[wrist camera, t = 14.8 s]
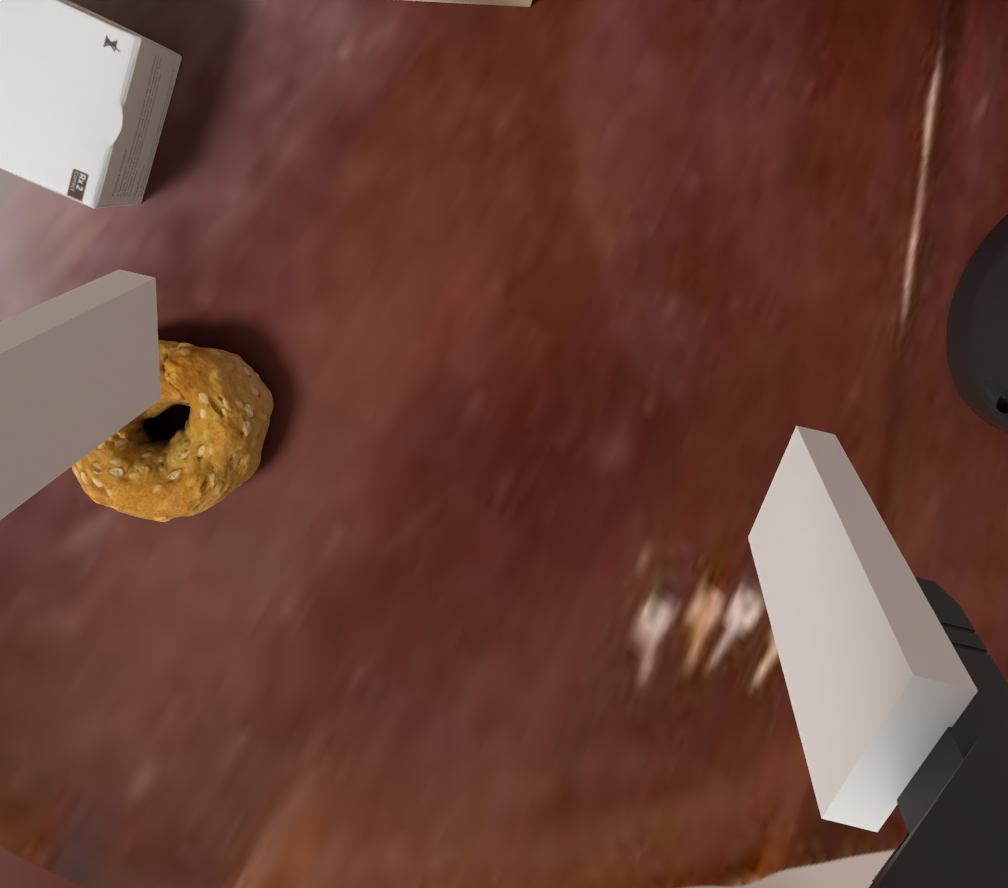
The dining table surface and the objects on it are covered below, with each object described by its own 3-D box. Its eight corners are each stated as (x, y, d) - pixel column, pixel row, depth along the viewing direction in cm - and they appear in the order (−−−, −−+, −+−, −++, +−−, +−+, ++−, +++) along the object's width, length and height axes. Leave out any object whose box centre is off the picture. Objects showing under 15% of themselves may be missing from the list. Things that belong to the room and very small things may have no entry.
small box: (22, -22, 35) (-50, -56, 30) (187, 56, 36) (144, 35, 31) (-14, 142, 37) (-86, 135, 32) (143, 210, 38) (97, 212, 33)
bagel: (310, 459, 43) (290, 490, 39) (141, 524, 44) (102, 561, 39) (230, 298, 40) (198, 311, 35) (49, 371, 41) (-4, 392, 36)
